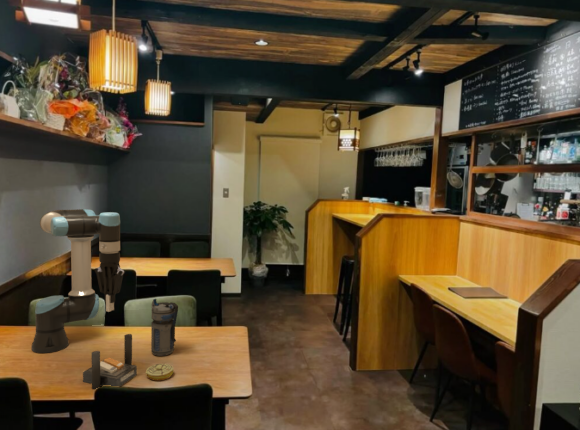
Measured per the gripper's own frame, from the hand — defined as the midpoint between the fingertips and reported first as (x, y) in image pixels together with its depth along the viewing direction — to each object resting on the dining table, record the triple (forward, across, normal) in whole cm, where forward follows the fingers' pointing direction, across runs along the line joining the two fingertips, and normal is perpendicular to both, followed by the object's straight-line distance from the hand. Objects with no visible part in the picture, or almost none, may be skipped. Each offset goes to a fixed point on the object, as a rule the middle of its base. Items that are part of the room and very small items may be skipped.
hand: (110, 310), depth 166 cm
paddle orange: (+23, 0, +2) cm, 23 cm away
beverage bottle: (+28, +6, +29) cm, 41 cm away
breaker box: (+28, 0, 0) cm, 28 cm away
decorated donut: (+29, +17, +9) cm, 35 cm away
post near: (+28, 0, -8) cm, 29 cm away
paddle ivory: (+23, 0, -2) cm, 23 cm away
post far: (+28, 0, +11) cm, 30 cm away
